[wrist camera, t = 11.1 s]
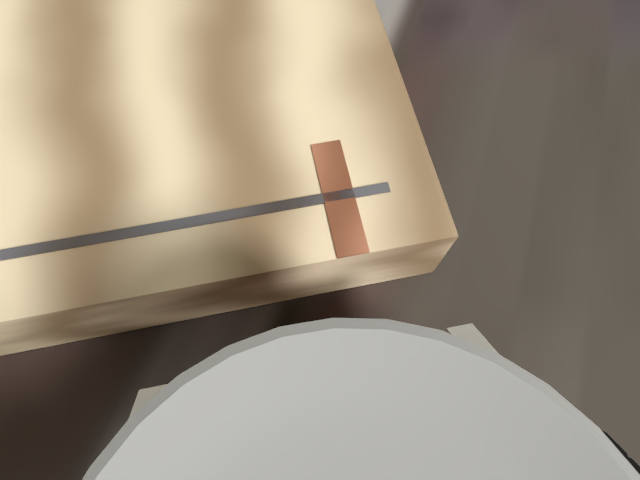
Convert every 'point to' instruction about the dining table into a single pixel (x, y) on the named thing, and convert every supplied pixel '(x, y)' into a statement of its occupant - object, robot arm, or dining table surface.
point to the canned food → (358, 414)
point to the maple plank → (201, 162)
